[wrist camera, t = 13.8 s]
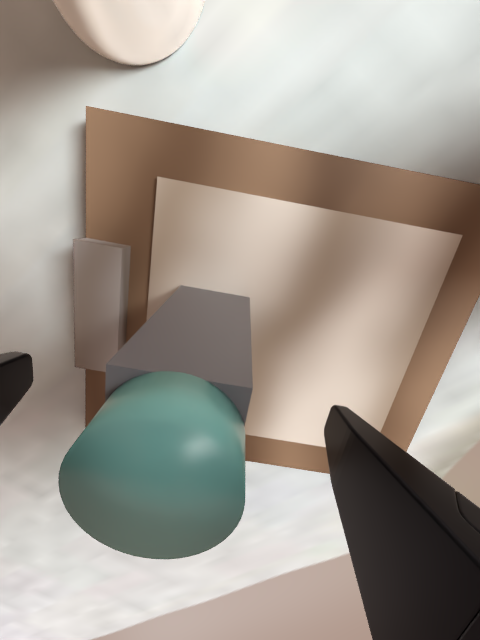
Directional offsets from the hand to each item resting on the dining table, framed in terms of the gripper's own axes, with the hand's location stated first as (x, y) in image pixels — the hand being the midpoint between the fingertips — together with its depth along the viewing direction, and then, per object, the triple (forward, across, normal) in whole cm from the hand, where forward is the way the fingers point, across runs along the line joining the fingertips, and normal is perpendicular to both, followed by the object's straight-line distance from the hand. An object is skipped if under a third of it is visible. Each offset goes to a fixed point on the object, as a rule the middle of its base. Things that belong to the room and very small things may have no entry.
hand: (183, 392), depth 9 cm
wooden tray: (+7, -3, 0) cm, 8 cm away
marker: (+6, 0, 0) cm, 6 cm away
